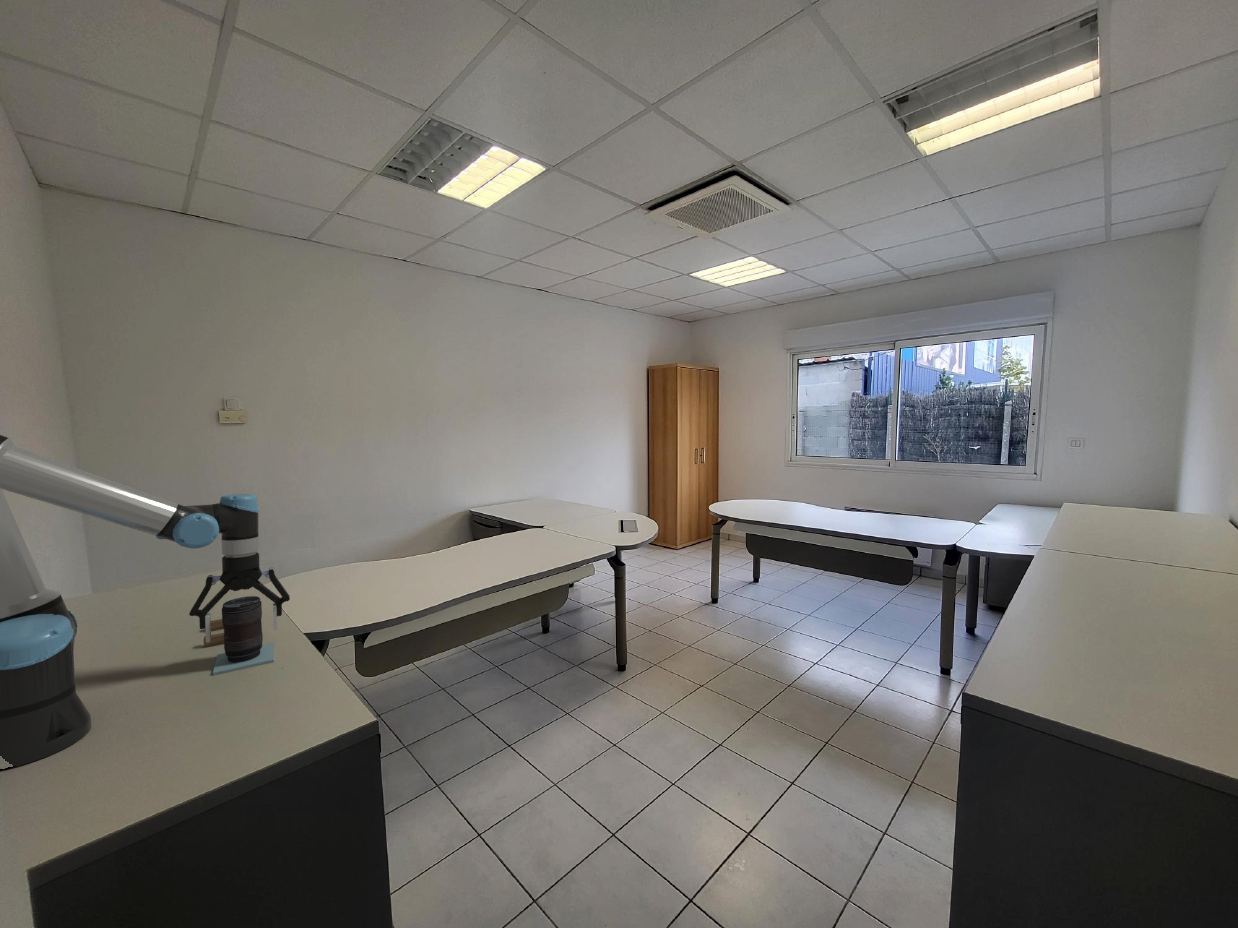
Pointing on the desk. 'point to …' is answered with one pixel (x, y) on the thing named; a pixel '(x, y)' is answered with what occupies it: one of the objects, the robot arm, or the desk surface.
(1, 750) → the robot arm
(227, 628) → the camera lens
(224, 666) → the mat
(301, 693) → the desk surface
